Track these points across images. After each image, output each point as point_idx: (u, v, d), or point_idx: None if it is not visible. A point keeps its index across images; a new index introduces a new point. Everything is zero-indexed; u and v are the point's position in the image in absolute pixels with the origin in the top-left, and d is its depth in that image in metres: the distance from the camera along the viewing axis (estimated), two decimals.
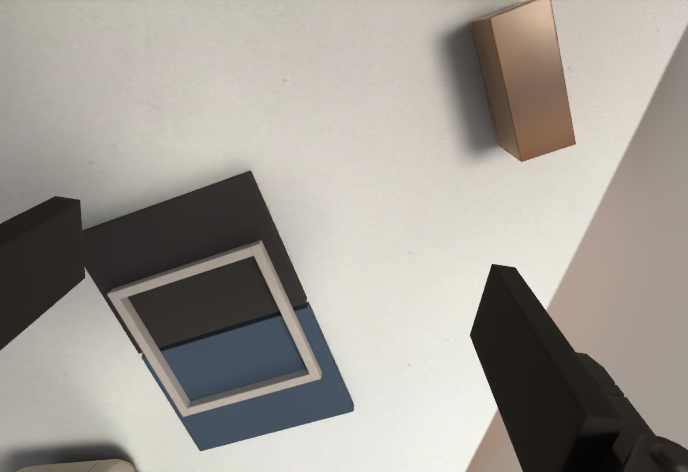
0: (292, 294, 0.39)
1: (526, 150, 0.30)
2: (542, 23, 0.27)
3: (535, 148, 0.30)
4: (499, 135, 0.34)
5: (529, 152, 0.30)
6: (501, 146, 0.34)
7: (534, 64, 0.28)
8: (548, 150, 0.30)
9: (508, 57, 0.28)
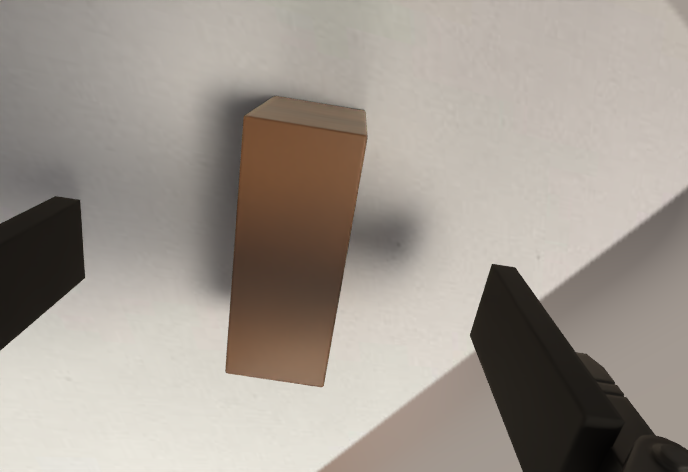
0: None
1: (239, 360, 0.16)
2: (336, 178, 0.13)
3: (255, 364, 0.16)
4: None
5: (243, 366, 0.16)
6: None
7: (298, 237, 0.14)
8: (276, 376, 0.16)
9: (256, 203, 0.14)
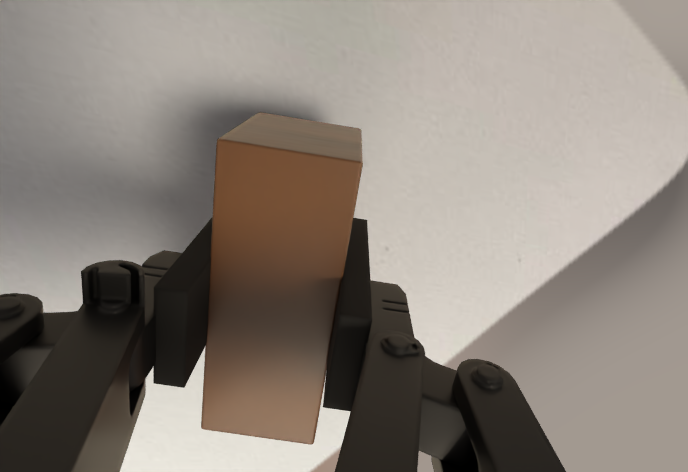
0: None
1: (217, 415, 0.14)
2: (326, 210, 0.12)
3: (235, 420, 0.14)
4: None
5: (221, 421, 0.14)
6: None
7: (283, 278, 0.12)
8: (259, 433, 0.14)
9: (233, 239, 0.12)
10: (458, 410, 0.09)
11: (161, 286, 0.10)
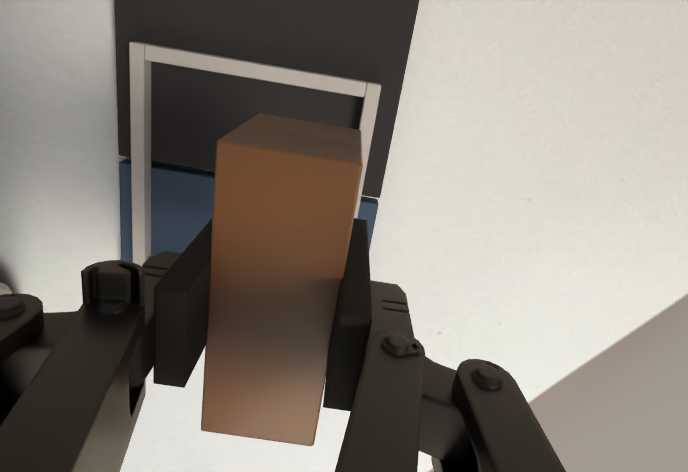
0: (371, 178, 0.28)
1: (217, 417, 0.14)
2: (326, 212, 0.11)
3: (235, 421, 0.14)
4: None
5: (221, 423, 0.14)
6: None
7: (283, 280, 0.12)
8: (259, 434, 0.14)
9: (233, 241, 0.12)
10: (458, 410, 0.09)
11: (161, 286, 0.10)
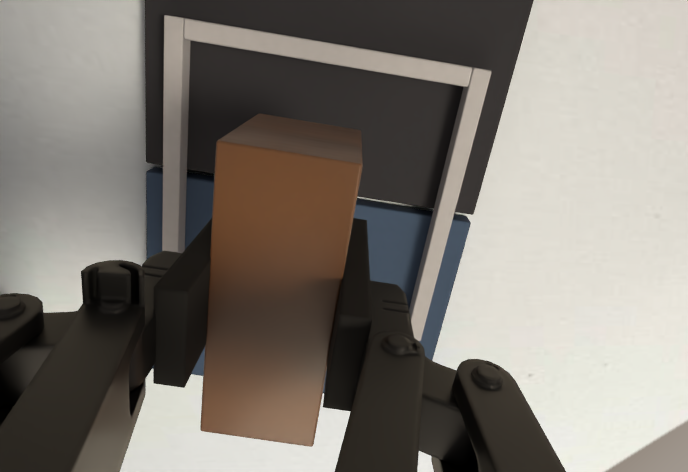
0: (464, 190, 0.22)
1: (216, 417, 0.14)
2: (325, 213, 0.11)
3: (234, 422, 0.14)
4: None
5: (221, 423, 0.14)
6: None
7: (282, 280, 0.12)
8: (258, 435, 0.14)
9: (232, 241, 0.12)
10: (458, 410, 0.09)
11: (161, 286, 0.10)
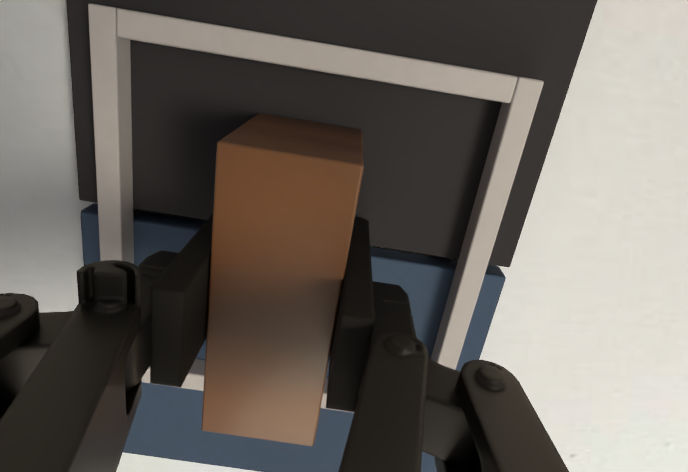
0: (499, 236, 0.17)
1: (217, 417, 0.14)
2: (326, 214, 0.11)
3: (235, 422, 0.14)
4: None
5: (221, 423, 0.14)
6: None
7: (283, 282, 0.12)
8: (259, 434, 0.14)
9: (233, 242, 0.12)
10: (462, 411, 0.09)
11: (157, 286, 0.10)
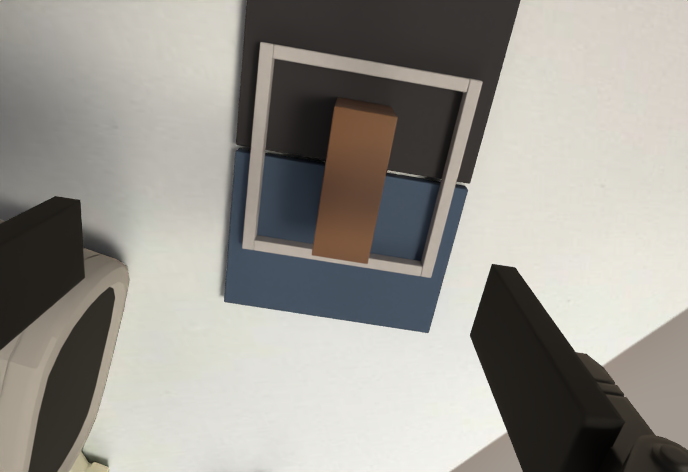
0: (463, 165, 0.31)
1: (320, 247, 0.28)
2: (380, 139, 0.26)
3: (329, 249, 0.28)
4: None
5: (322, 250, 0.28)
6: None
7: (358, 172, 0.26)
8: (341, 257, 0.28)
9: (337, 153, 0.26)
10: None
11: None
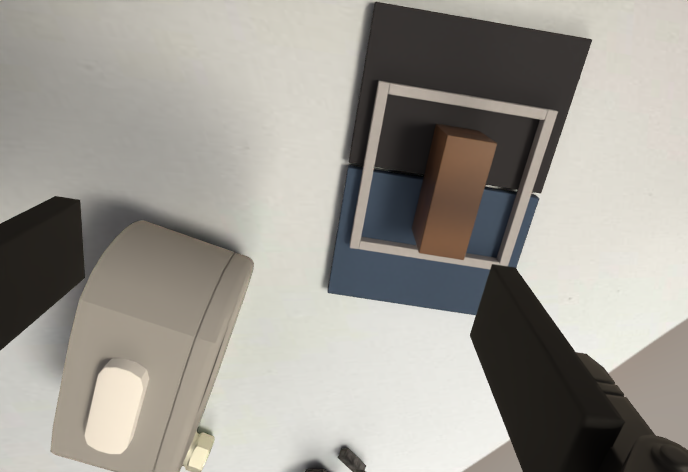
0: (536, 178, 0.38)
1: (426, 246, 0.35)
2: (482, 160, 0.32)
3: (433, 248, 0.35)
4: (415, 221, 0.39)
5: (428, 249, 0.35)
6: (412, 230, 0.39)
7: (463, 187, 0.33)
8: (442, 254, 0.35)
9: (447, 171, 0.33)
10: None
11: None
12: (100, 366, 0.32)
